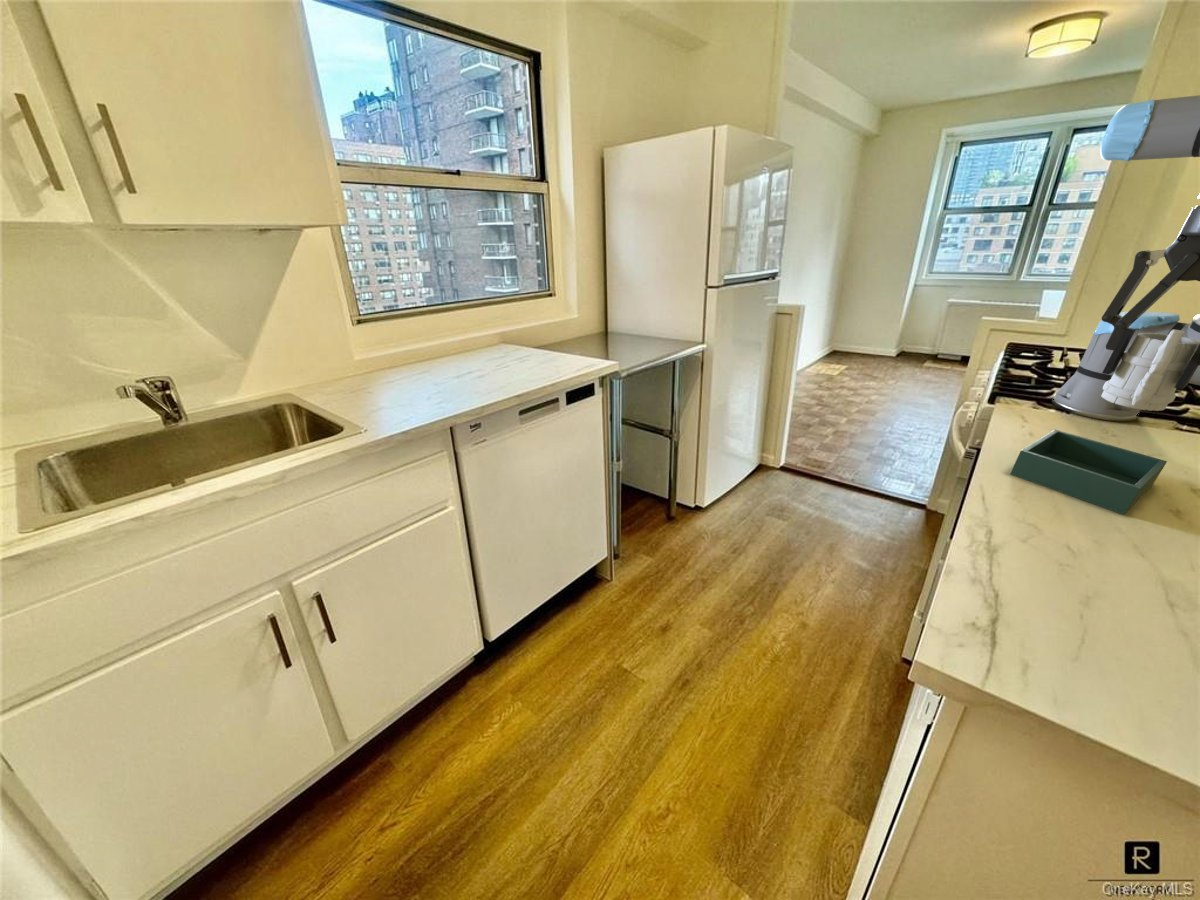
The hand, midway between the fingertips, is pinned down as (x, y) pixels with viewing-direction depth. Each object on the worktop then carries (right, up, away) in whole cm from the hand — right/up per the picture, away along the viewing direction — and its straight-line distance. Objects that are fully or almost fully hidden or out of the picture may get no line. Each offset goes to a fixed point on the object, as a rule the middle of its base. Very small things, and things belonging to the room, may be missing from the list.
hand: (1142, 379), depth 71 cm
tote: (+7, -16, +17) cm, 24 cm away
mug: (0, -4, +2) cm, 4 cm away
